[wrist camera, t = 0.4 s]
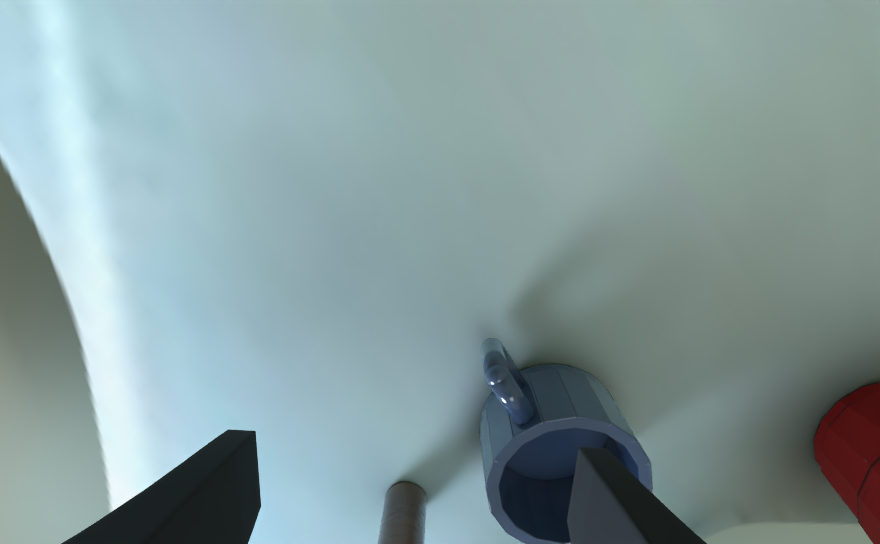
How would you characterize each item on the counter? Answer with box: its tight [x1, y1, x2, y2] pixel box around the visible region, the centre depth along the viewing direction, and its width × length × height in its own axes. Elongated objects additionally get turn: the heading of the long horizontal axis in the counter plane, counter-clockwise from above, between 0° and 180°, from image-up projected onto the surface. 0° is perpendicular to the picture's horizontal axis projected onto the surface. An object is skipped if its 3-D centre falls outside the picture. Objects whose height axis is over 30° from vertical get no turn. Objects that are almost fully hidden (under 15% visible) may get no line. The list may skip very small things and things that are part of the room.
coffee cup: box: [480, 338, 653, 544], centre depth 20 cm, size 9×6×4 cm
